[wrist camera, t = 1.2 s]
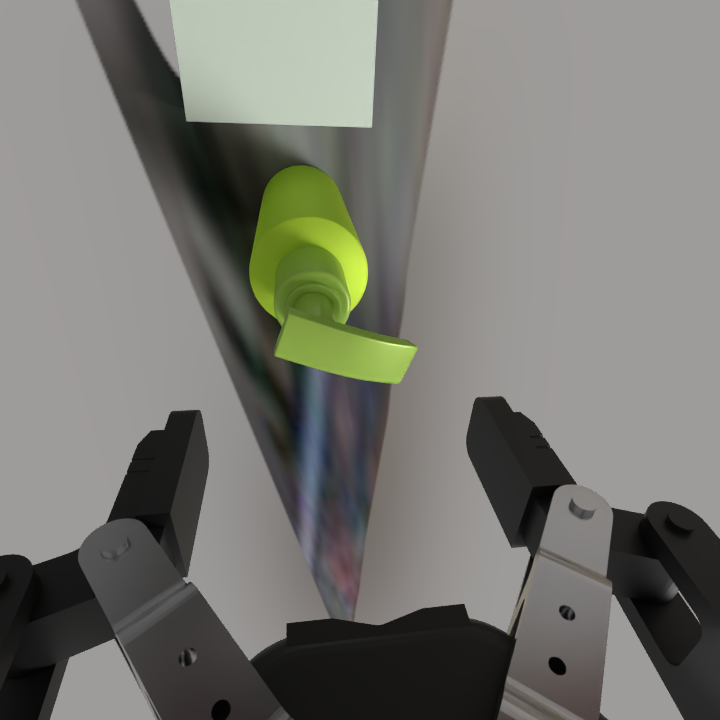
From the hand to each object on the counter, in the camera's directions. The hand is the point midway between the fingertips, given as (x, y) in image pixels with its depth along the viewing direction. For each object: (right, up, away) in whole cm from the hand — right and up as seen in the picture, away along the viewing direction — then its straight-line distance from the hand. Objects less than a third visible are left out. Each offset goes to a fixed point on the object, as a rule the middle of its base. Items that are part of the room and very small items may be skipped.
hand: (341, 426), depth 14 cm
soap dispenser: (-3, +13, +21) cm, 25 cm away
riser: (-4, +22, +14) cm, 27 cm away
